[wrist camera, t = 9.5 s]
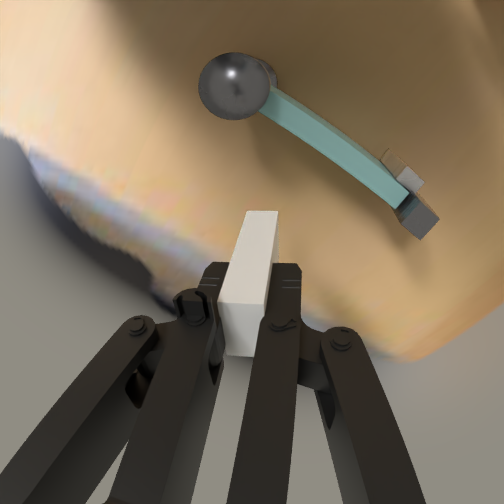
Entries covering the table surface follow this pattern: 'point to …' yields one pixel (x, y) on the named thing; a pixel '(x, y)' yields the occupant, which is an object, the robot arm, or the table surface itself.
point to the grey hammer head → (235, 85)
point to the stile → (410, 197)
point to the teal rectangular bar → (333, 145)
